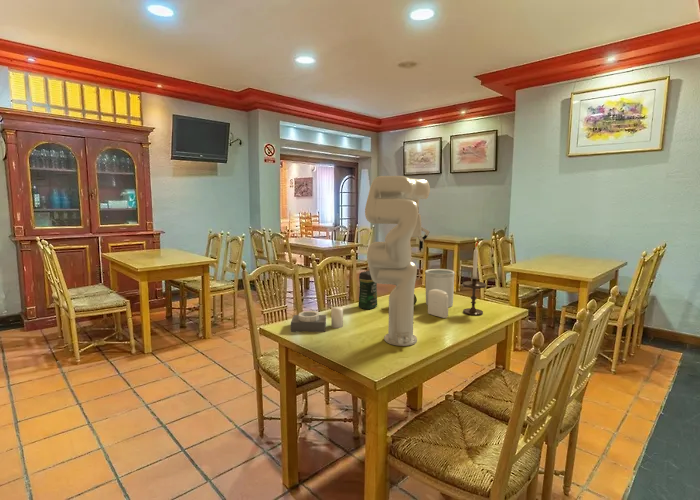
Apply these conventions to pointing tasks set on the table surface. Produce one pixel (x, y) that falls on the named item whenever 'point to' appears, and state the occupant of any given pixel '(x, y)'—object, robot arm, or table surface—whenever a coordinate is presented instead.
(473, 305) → the candlestick
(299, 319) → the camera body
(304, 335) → the table surface
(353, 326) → the table surface
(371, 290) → the coffee jar
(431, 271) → the utensil holder
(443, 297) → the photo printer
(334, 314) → the white cylinder
